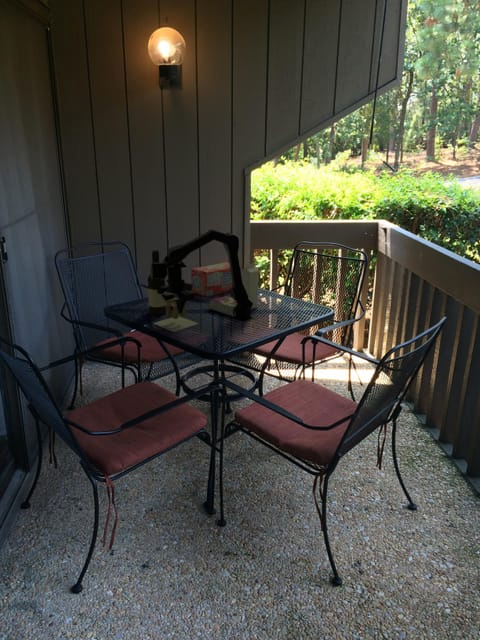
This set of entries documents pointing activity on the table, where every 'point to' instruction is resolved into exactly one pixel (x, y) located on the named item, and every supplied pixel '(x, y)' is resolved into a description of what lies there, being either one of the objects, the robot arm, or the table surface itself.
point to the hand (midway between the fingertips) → (175, 312)
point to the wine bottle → (156, 300)
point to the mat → (175, 324)
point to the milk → (251, 282)
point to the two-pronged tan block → (174, 308)
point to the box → (211, 279)
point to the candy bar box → (224, 305)
